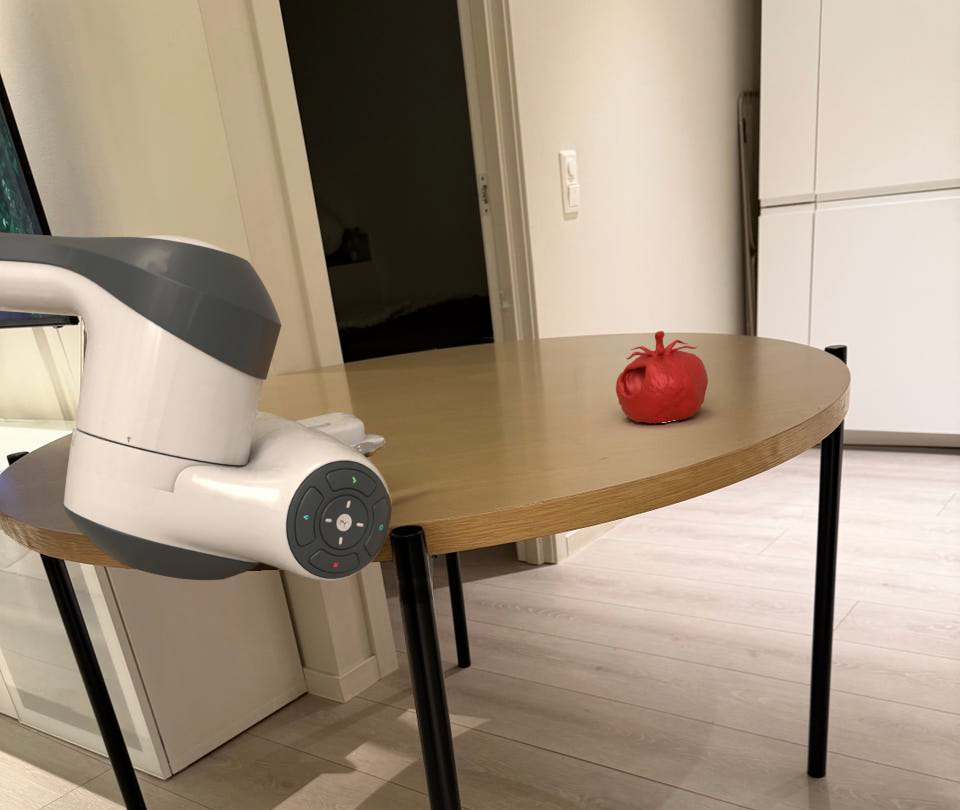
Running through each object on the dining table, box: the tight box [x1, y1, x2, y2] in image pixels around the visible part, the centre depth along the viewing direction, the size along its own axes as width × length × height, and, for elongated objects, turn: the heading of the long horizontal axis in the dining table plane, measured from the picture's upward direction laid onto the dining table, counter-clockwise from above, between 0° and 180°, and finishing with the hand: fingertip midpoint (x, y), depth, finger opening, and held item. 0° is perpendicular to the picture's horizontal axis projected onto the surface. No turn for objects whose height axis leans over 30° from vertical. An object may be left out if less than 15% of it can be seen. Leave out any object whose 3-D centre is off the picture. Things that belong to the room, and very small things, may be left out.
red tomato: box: [615, 330, 709, 424], centre depth 97 cm, size 10×10×9 cm
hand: (216, 449), depth 75 cm, fingers closed
